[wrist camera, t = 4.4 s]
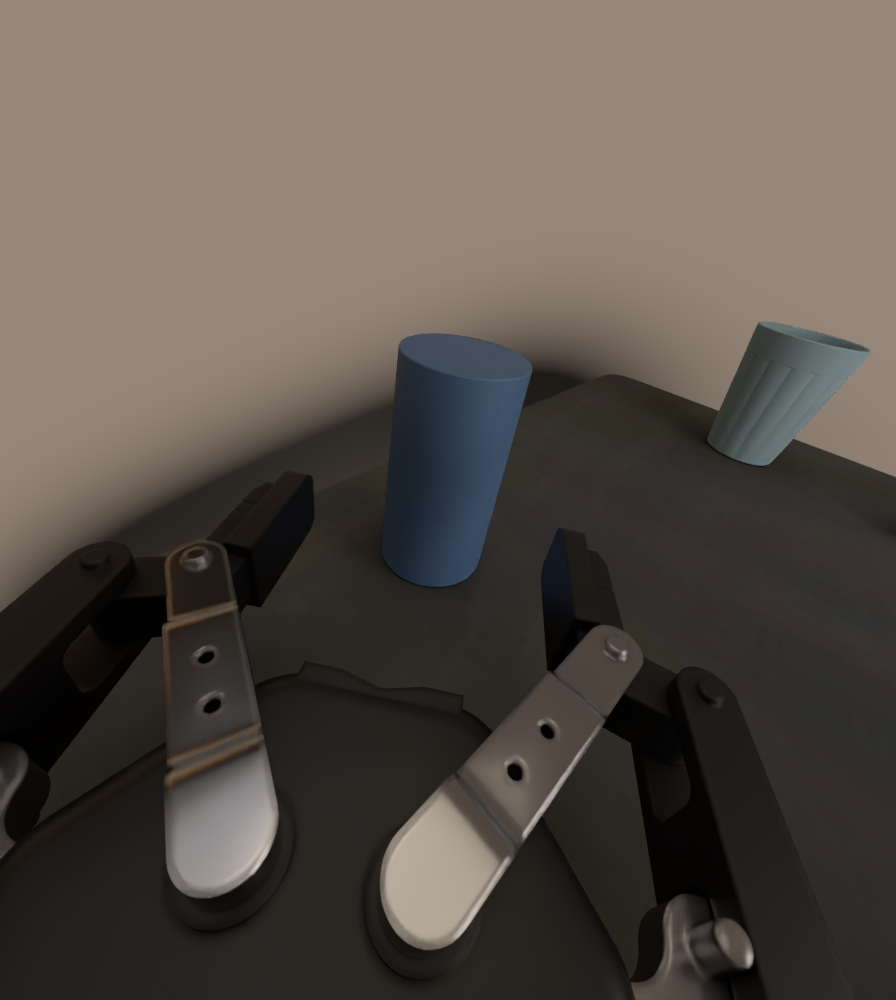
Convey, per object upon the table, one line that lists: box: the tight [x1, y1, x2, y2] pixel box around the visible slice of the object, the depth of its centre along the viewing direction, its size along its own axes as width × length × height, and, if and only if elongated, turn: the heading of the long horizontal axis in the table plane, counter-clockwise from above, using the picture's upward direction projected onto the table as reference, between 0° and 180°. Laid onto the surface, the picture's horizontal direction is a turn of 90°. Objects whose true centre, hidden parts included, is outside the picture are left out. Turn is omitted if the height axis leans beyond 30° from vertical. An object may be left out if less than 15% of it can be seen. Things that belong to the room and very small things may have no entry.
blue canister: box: [382, 333, 532, 587], centre depth 18 cm, size 5×5×10 cm
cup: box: [708, 322, 872, 466], centre depth 35 cm, size 8×8×10 cm
